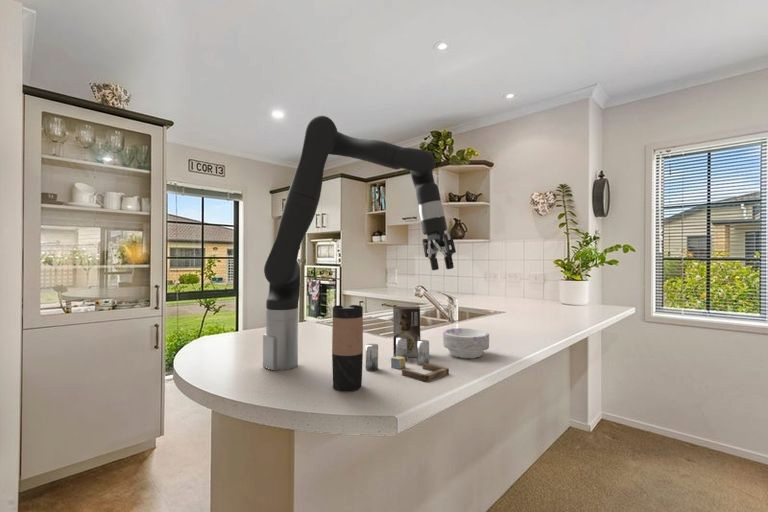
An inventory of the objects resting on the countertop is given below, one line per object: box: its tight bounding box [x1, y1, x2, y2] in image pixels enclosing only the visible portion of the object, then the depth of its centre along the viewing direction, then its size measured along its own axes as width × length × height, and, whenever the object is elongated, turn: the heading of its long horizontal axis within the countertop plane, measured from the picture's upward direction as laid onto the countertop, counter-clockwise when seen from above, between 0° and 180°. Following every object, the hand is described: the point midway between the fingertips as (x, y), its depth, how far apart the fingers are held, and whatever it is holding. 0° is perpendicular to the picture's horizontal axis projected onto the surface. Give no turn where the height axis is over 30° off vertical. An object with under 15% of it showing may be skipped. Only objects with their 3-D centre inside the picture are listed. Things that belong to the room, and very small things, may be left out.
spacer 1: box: [365, 343, 379, 372], centre depth 109 cm, size 4×4×7 cm
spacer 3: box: [416, 339, 430, 367], centre depth 115 cm, size 4×4×7 cm
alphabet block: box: [390, 356, 406, 370], centre depth 111 cm, size 3×3×3 cm
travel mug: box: [331, 304, 364, 393], centre depth 94 cm, size 8×8×20 cm
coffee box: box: [392, 305, 421, 358], centre depth 126 cm, size 9×6×16 cm
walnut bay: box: [401, 363, 450, 383], centre depth 104 cm, size 10×8×2 cm
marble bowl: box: [442, 327, 490, 359], centre depth 126 cm, size 15×15×8 cm
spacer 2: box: [396, 337, 408, 362], centre depth 120 cm, size 4×4×7 cm
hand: (442, 269), depth 115 cm, fingers open, 8 cm apart
